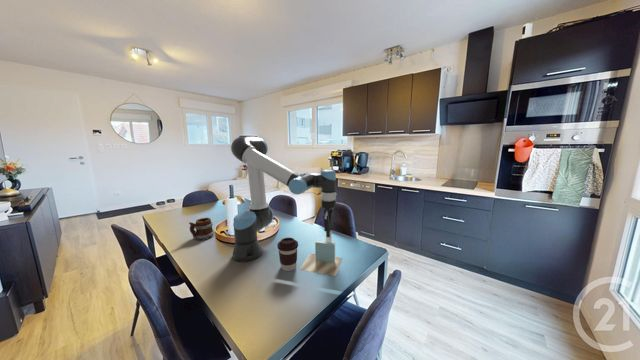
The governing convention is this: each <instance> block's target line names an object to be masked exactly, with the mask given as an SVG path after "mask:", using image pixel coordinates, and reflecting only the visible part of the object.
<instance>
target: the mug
mask: <svg viewBox="0 0 640 360" xmlns="http://www.w3.org/2000/svg"><path fill="white" fill-rule="evenodd" d="M188 224H189V232H190V233H191V235H192V238H195V239H196V240H197V239H198V240H197V241H204V240H203V239H205V240H208V239H207V238H209V239H211V238H213V237H214V236H213V235H215V230H214V229H213V222H212V219H211V217H201V218H198V219H196V220H195V223H194V222H191V221H189V222H188ZM212 236H213V237H212ZM210 237H211V238H210Z"/></svg>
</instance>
